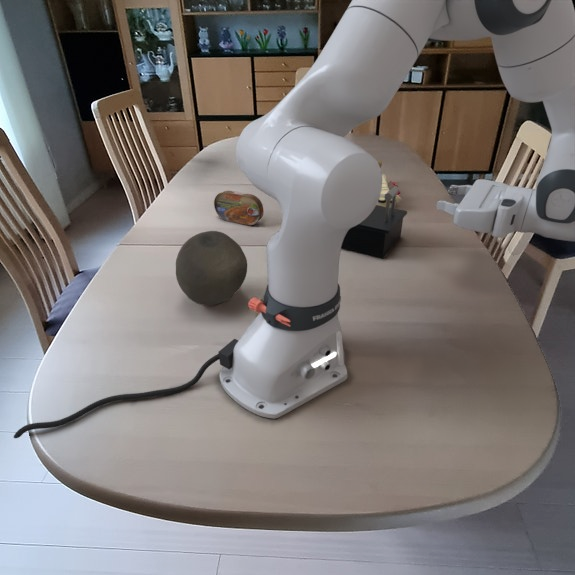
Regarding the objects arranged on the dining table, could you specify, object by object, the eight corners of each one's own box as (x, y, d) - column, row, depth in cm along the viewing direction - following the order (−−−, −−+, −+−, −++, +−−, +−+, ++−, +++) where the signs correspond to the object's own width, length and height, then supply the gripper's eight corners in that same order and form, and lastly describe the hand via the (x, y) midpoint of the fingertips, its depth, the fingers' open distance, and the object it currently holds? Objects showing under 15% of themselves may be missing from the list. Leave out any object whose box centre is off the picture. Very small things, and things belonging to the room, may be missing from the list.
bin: (400, 237, 116) (403, 213, 112) (382, 259, 107) (385, 233, 103) (345, 225, 123) (346, 202, 119) (324, 244, 114) (324, 219, 110)
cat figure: (362, 186, 150) (368, 210, 128) (364, 159, 146) (370, 180, 124) (392, 186, 149) (403, 211, 127) (395, 159, 145) (407, 180, 123)
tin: (215, 218, 128) (211, 190, 124) (221, 214, 131) (218, 186, 126) (260, 228, 122) (258, 199, 118) (265, 223, 125) (264, 195, 120)
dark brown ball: (184, 326, 87) (171, 259, 79) (179, 288, 98) (167, 225, 90) (255, 313, 90) (250, 247, 82) (242, 277, 101) (236, 216, 93)
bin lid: (406, 213, 111) (411, 182, 107) (388, 233, 103) (392, 200, 98) (346, 201, 119) (348, 172, 114) (324, 219, 110) (325, 188, 105)
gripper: (522, 177, 98) (457, 168, 104) (506, 211, 83) (432, 198, 89) (515, 204, 101) (453, 194, 107) (498, 241, 87) (427, 227, 93)
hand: (443, 196), depth 98 cm, fingers open, 8 cm apart
